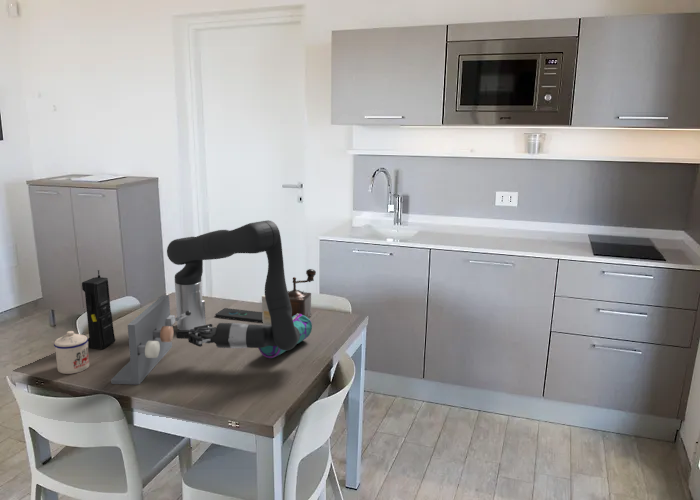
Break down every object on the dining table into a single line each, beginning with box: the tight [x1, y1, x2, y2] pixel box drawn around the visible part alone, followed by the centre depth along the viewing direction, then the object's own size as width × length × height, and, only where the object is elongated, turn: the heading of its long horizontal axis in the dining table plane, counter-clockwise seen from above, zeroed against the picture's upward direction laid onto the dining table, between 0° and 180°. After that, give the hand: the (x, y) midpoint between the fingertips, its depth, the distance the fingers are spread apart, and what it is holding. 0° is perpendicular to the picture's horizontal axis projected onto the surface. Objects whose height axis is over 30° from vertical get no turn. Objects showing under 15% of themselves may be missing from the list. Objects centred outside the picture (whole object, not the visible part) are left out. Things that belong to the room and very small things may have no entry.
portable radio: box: [81, 270, 116, 350], centre depth 177 cm, size 8×6×25 cm
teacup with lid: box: [53, 330, 90, 375], centre depth 164 cm, size 12×9×12 cm
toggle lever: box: [175, 310, 191, 322], centre depth 176 cm, size 6×2×2 cm, turn 88°
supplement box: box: [261, 293, 271, 325], centre depth 196 cm, size 8×5×13 cm, turn 71°
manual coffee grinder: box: [287, 268, 317, 319], centre depth 209 cm, size 16×11×18 cm
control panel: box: [110, 294, 176, 385], centre depth 165 cm, size 10×27×18 cm, turn 178°
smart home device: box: [215, 307, 263, 323], centre depth 210 cm, size 8×2×20 cm
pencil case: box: [258, 313, 313, 359], centre depth 179 cm, size 21×9×10 cm, turn 154°
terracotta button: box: [153, 325, 175, 342], centre depth 165 cm, size 7×5×5 cm
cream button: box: [137, 341, 160, 358], centre depth 154 cm, size 7×5×5 cm
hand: (176, 334), depth 165 cm, fingers closed
